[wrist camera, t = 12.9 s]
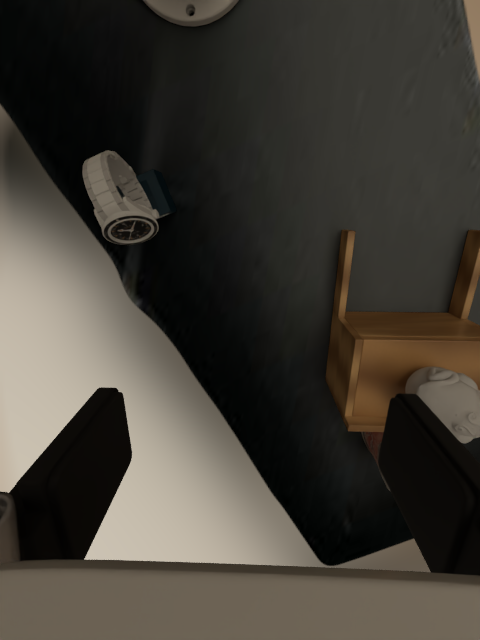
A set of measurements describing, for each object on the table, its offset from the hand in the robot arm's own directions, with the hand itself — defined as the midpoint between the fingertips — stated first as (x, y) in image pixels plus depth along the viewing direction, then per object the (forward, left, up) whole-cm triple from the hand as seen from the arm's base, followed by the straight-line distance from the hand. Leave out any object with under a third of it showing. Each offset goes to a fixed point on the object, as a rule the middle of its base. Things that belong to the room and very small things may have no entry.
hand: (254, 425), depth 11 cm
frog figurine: (+10, +18, -20) cm, 28 cm away
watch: (-8, -12, -28) cm, 32 cm away
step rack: (+5, +18, -28) cm, 34 cm away
